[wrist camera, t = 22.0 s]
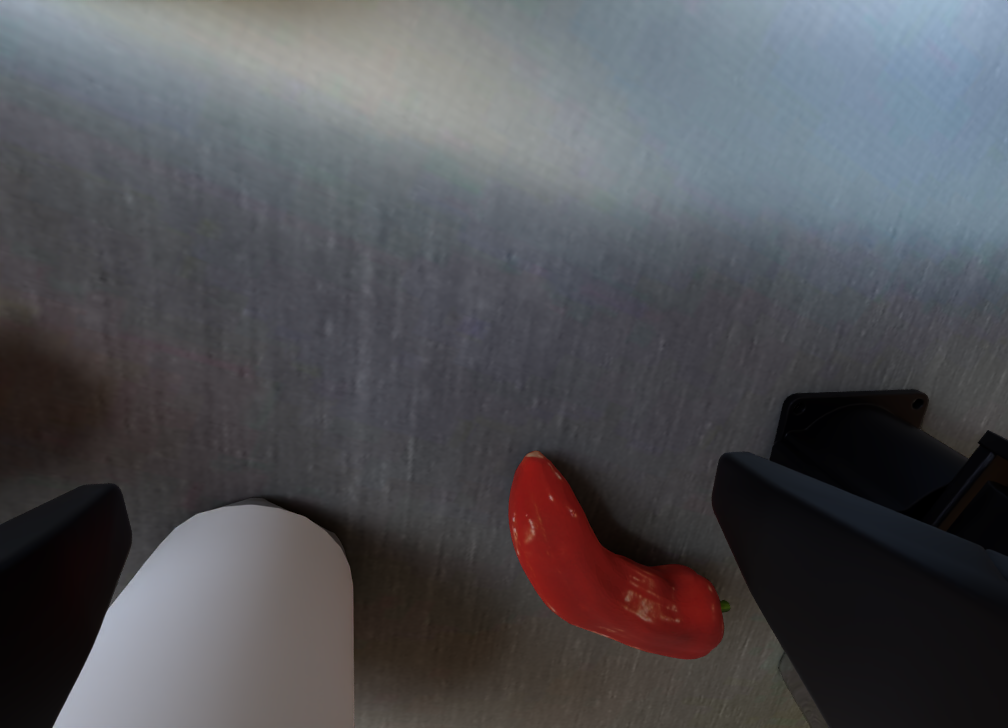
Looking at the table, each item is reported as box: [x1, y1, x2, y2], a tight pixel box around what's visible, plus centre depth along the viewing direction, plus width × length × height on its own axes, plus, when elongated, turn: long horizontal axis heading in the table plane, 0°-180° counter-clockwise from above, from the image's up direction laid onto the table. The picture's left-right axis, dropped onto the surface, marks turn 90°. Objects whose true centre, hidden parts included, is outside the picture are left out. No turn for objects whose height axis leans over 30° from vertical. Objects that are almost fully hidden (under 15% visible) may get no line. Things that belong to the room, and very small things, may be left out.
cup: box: [53, 498, 354, 728], centre depth 19 cm, size 10×10×13 cm
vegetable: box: [509, 451, 730, 659], centre depth 25 cm, size 4×5×12 cm
